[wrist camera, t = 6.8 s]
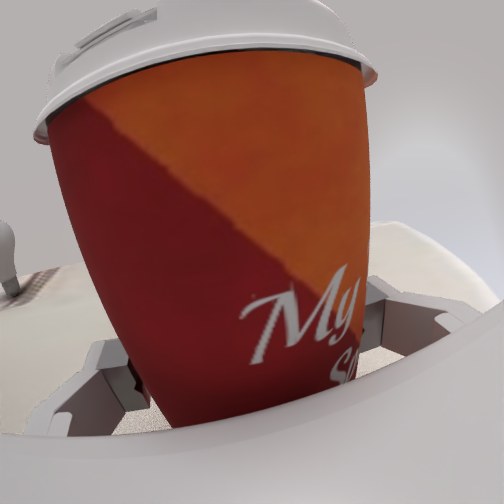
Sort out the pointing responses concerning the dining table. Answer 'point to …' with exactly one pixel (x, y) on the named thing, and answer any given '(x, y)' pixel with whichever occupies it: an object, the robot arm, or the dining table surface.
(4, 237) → the lightbulb
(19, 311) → the dining table surface
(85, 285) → the dining table surface
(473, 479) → the robot arm
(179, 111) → the paper cup
